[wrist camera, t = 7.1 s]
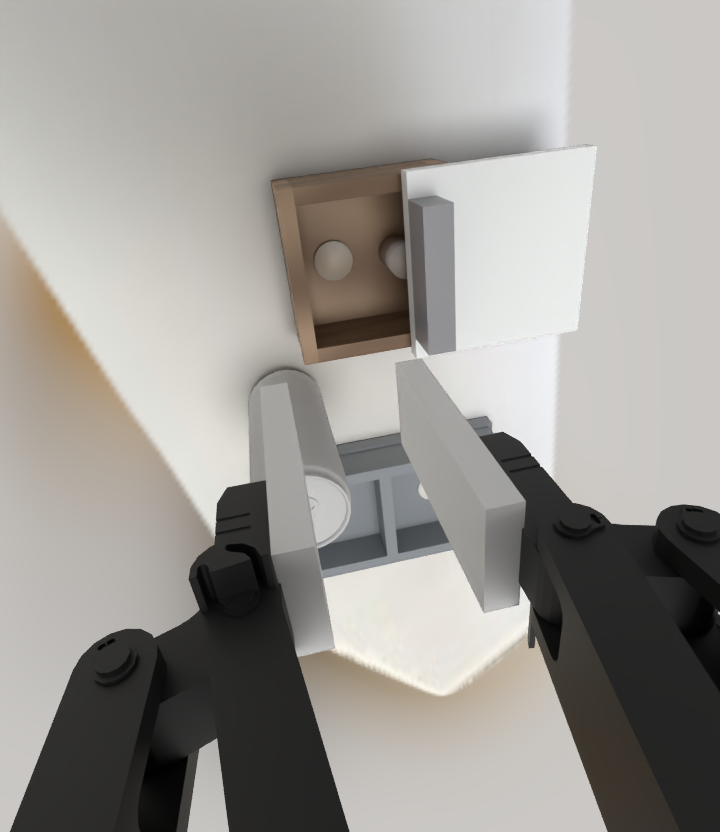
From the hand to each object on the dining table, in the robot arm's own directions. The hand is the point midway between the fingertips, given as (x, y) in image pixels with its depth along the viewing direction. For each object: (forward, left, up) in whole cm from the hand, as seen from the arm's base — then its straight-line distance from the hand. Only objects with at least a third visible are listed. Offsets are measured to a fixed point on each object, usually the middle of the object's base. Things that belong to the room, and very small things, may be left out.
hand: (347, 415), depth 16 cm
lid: (0, +10, -14) cm, 17 cm away
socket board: (+18, +3, -19) cm, 26 cm away
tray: (0, +4, -19) cm, 19 cm away
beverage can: (+9, -2, -19) cm, 21 cm away
